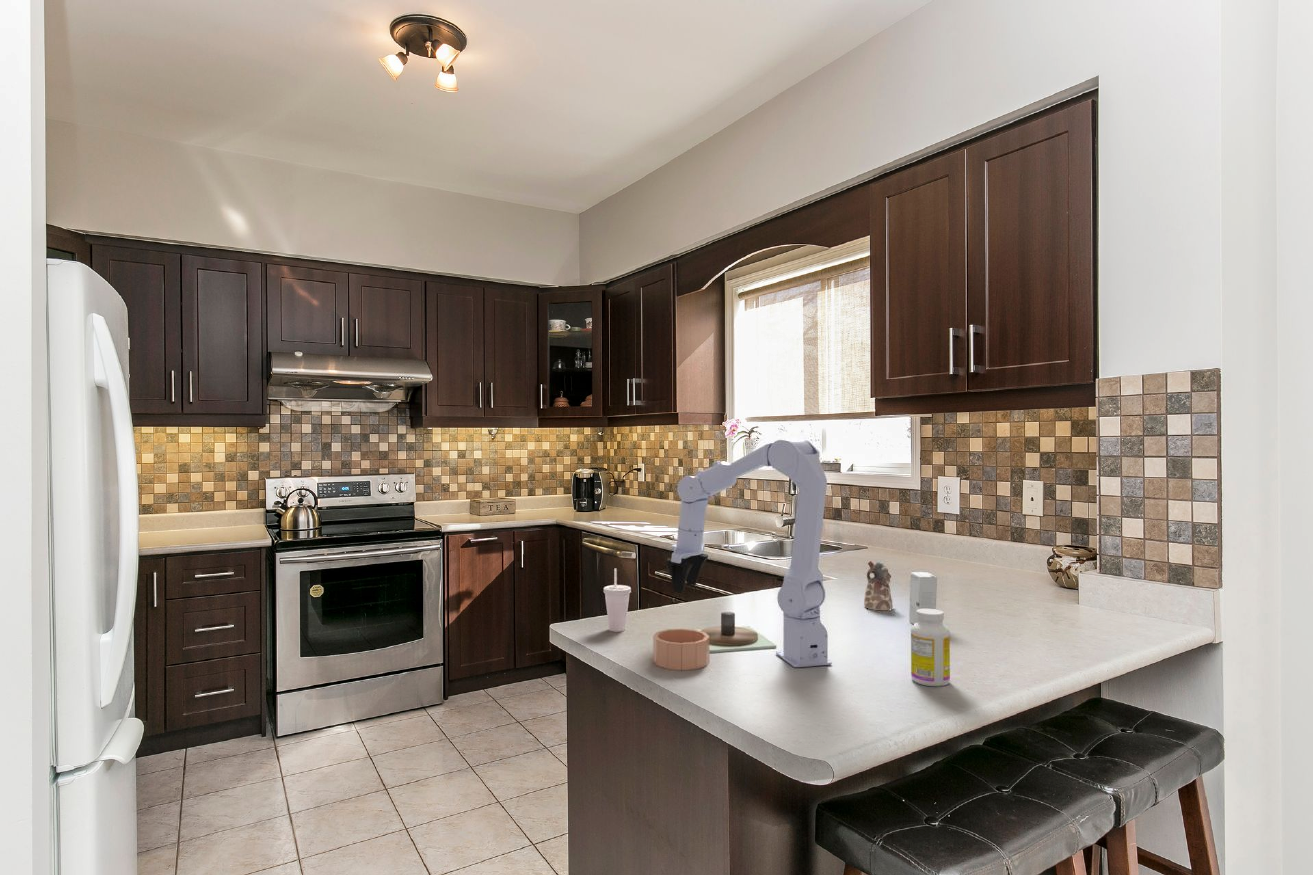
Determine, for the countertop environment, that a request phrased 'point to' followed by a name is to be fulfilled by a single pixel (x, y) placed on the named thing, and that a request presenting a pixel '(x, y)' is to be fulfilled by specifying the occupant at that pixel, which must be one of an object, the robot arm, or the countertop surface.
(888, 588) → the figurine
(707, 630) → the lid
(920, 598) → the skincare box
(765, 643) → the mat
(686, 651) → the bowl
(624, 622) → the smoothie
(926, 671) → the supplement bottle
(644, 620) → the countertop surface
